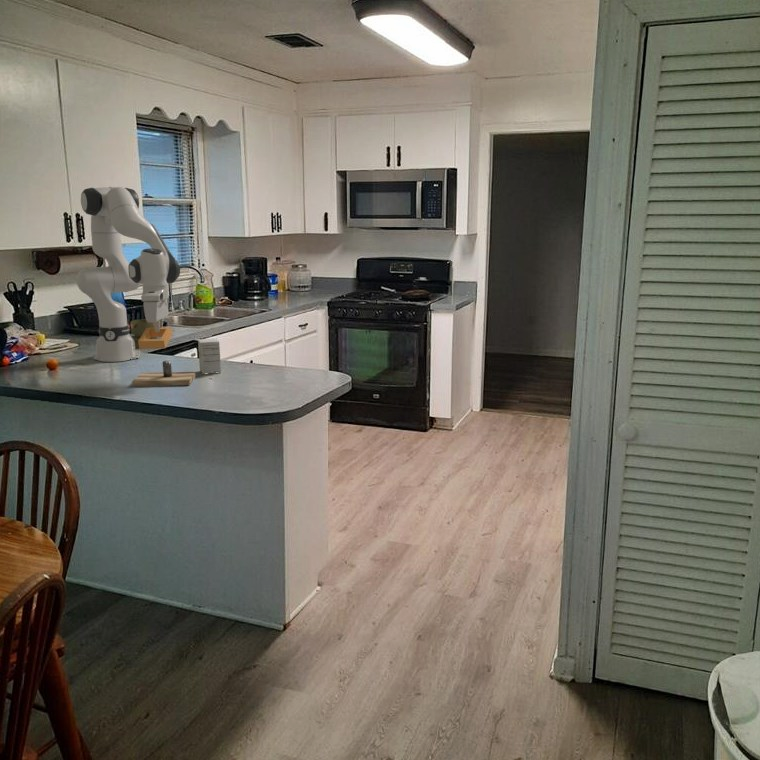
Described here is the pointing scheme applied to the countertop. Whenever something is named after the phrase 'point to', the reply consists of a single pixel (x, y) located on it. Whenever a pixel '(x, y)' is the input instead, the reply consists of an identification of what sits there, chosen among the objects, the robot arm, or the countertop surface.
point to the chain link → (155, 343)
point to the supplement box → (209, 355)
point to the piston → (140, 329)
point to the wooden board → (164, 379)
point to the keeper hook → (167, 369)
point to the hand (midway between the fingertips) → (158, 331)
